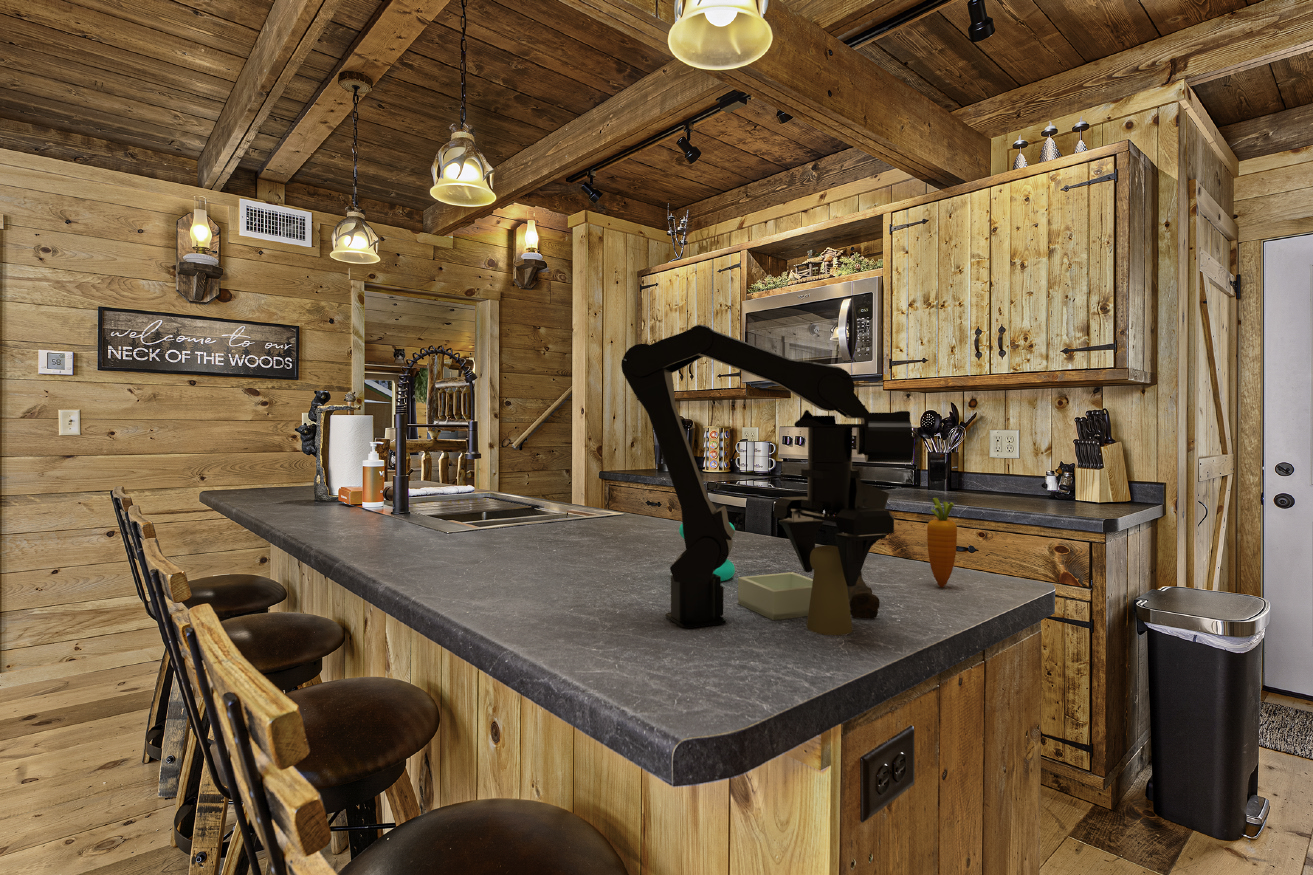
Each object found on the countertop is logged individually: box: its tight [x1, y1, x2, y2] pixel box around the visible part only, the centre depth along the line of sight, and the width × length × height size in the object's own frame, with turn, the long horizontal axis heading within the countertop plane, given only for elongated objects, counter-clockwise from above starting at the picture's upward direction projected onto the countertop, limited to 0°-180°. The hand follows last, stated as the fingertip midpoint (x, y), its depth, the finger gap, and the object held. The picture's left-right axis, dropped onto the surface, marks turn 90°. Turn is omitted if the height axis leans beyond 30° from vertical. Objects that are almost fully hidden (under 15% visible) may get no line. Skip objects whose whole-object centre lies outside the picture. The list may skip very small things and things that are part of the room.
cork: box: [806, 544, 854, 636], centre depth 91 cm, size 6×6×11 cm
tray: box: [737, 571, 813, 621], centre depth 101 cm, size 10×10×4 cm
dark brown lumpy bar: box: [847, 571, 881, 620], centre depth 105 cm, size 19×4×5 cm, turn 168°
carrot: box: [926, 497, 958, 589], centre depth 114 cm, size 5×5×15 cm
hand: (828, 578), depth 91 cm, fingers open, 9 cm apart
